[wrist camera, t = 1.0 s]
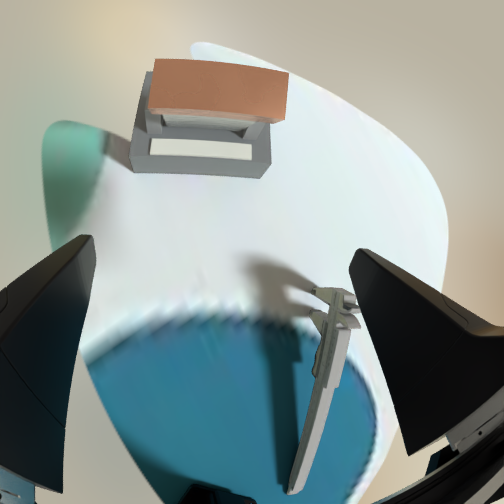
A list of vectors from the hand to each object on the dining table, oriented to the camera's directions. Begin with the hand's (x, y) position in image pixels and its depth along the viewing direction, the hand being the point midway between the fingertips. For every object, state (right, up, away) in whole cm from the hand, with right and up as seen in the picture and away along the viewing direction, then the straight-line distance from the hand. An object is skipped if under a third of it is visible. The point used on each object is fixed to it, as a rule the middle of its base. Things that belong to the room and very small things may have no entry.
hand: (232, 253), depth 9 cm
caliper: (+5, -13, +13) cm, 19 cm away
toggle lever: (-3, +9, +10) cm, 14 cm away
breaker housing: (-4, +9, +13) cm, 16 cm away
